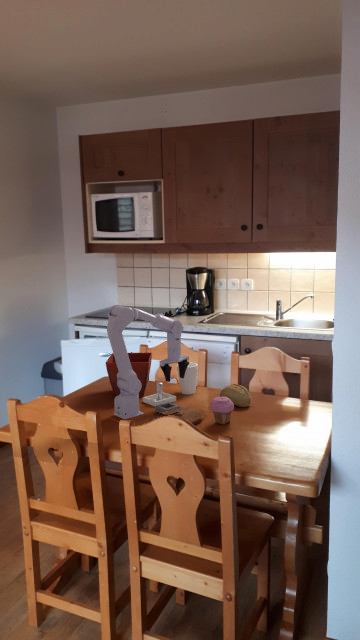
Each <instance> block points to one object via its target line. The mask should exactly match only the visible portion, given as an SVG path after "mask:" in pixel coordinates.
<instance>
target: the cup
mask: <svg viewBox="0 0 360 640" xmlns="http://www.w3.org/2000/svg"><path fill="white" fill-rule="evenodd" d="M154 407H155V409H154V410H155V413H157V412H166V411H169V410H172V409H179V408H180V409H181V405H178V404H175V403H174V402H171V403H170V402H167V403H164V404H160V405H157V406H154Z"/></svg>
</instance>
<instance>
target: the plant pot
mask: <svg viewBox="0 0 360 640" xmlns="http://www.w3.org/2000/svg"><path fill="white" fill-rule="evenodd" d="M127 353H128V356H129V360H130V363H131V367H132V370H133V371H134V372H135V374H136V375H137V378H138V379H139V380H140V382H141V385H142V387H141V390H140V391H139V398H140V397H141V398H143V397H145V393H146V389H147V386H148V382H149V379H150V373H151V365H152V360H153V359H152V358H153V353H152V352H127ZM105 366H106V367H105V368H106V373H107V375H108V380H109V383H110V386H111V389H112V391H113V394H114V396H115V397H116V396H118V395H120V394H121V393H120V388H119V387H118V386H117V380H118V378H117V374H118V372H119V371H118V367H117V364H116V361H115V357H114V354H113V352H112V353H111V354H110V356H109V357H108V359H107V360H106V362H105Z"/></svg>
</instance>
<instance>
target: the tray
mask: <svg viewBox="0 0 360 640" xmlns="http://www.w3.org/2000/svg"><path fill="white" fill-rule="evenodd" d="M142 402H143V403H145V404H147V405H150V406H152V407H155V406H157V405H160V404H164V403H167V402H170V403H174V402H177V396H176V395H173V394H169V393H167V392H164V391H163V399H162V400H159V401H156V393H154V394H151V395H148V396H142Z"/></svg>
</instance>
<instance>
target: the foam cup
mask: <svg viewBox="0 0 360 640" xmlns="http://www.w3.org/2000/svg"><path fill="white" fill-rule="evenodd" d="M188 362H189V365H188V367H187V369H186V372H185V376H184V378H180V376H179V366H178V363H176V370H177V375H178V381H179V386H180V393H181V394H183V395H186V396H187V395H194V394H195V393H196V388H197V380H198V372H199V364H198V363H197V362H191V361H188Z"/></svg>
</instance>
